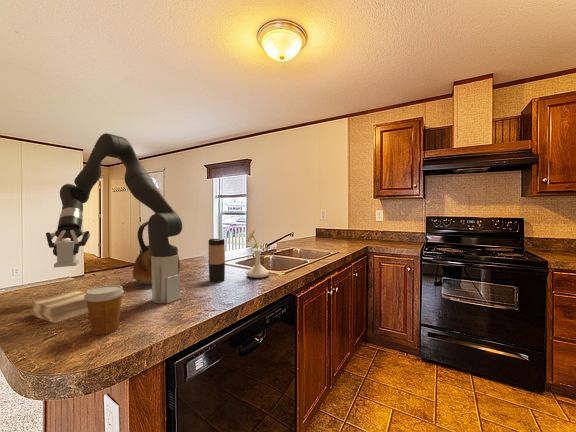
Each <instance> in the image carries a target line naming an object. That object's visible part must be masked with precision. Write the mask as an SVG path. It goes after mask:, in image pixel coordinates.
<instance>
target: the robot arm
mask: <svg viewBox="0 0 576 432" xmlns="http://www.w3.org/2000/svg"><path fill="white" fill-rule="evenodd" d="M106 157H108V158H113V159H117V160H120V161H121V163H122V164H123V165H124V167H125V172H124V183H125V186H126V187H127V189H128V190H129V191H130V194H131V195H132V196H133V197H134V198H135V199H136V200H138V201H139V202H140V203H142V204H143V205H145V206H146V207H147V208H148V209H150V210H151V211H152V212H153V214H151V216H150V217H149V218H148V220H147V221H148V225H147V234H148V235H147V237H148V245H149V248H150V250H151V263H152V264H151V265H152V284H151V301H152V303H155V304H170V303H172V302H175V301H177V300H180V299H181V274H180V273H179V274H178V256H179V255H178V254H179V249H178V246H176V245H172V244H170V240H169V237H171V238H172V237H176V236H178V235H180V234H181V233H182V231H183V222H182V219H181V217H180V215H178V213H177V212H176V210H174V209H173V207H172V206H171V205H170V204H169V203H168V201H167V200H166V198H164V196H163V194H162V193H161V192H160V190H159V188H158V186H157V185H156V184H155V183H154V181H153V179H152V177H151V176H150V175H149V173H148V172H147V170H146V169H145V167H144V166H143V164H142V163H141V161H140V160H139V157H138V156H137V154H136V151H135V149H134V148H133V145H132V144H131V143H130V141H129V140H128V139H127V138H125V137H123V136H120V135H115V134H113V133H103V134H101V135H100V136H99V137H98V139H97V140H96V142H95V144H94V146H93V149H92V150H91V153H90V154H89V157H88V159H87V161H86V163H85V165H84V166H83V168H82V169H81V170H80V171H79V173H78V174H77V176H76V177H75V178H74V184H71V183H65V184H64V185H62V186H61V188H60V190H59V198H60V201H61V205H62V208H61V212H60V213H59V214H60V215H59V219H58V223H57V228H56V231H54V232H52V233H50V232H46V233H45V235H46V240H47V245H48V247H49V248H50V249H52V254H53V256H55V257H57V242H61V241H62V239H63V238H70V240H71V241H74V242H75V244H74V249H73V254H74V255H76V256H77V254H78V253H79V251H80V247H85V246H86V245H87V242H88V240H89V239H90V236H91V235H90V231H89V230H86V231H82V227H83V226H82V225H83V216H84V215H83V212H84V204H86V203H88V200H89V198H90V195H91V192H92V189H93V188H94V186H95V185H96V183H98V181H99V180H100V179H101V177H102V161H103V160H104V159H105V158H106ZM81 236H82V238H81V240H80V241H79V239H78V238H80V237H81ZM55 237H56V240H55V242H53V239H54V238H55ZM168 240H169V241H168Z"/></svg>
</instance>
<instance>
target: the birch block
mask: <svg viewBox="0 0 576 432" xmlns="http://www.w3.org/2000/svg"><path fill="white" fill-rule="evenodd" d="M85 295H86V292H85V291H79V290H76V291H72V292H67V293H63V294H59V295H55V296H51V297H46V298H43V299H38V300H35V301H32V317H35V318H39V319H42V320H45V321H48V322H51V323H54V324H55V323H58V322H62V321H65V320H68V319H71V318H74V317H77V316H80V315H85V314H87V313H89V312H88V307H87V301H86V300H85V298H84V296H85Z"/></svg>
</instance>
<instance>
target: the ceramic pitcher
mask: <svg viewBox="0 0 576 432" xmlns="http://www.w3.org/2000/svg"><path fill="white" fill-rule="evenodd" d="M148 221H149V220H147V221H146V222H143V223H142V224H141V225H140V226H139V228H138V230H137V240H138V241H137V242H138V244H139V246H140V253H139V255H137V258H136V260H135V261H134V264H133V267H132V278H133V280H135V281H136V282H138V283H140V284H145V285H152V265H151V264H152V263H151V250H150V248H149V244H148V245H146V244H145V241H144V239H143V237H144V236H143V234H144V230H145V229H146V226H147V227H148ZM168 241H169V242H170V240H169V239H168ZM180 271H181V263H180V256H179V255H178V274H179V275H180Z"/></svg>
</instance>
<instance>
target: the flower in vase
mask: <svg viewBox="0 0 576 432" xmlns="http://www.w3.org/2000/svg"><path fill="white" fill-rule="evenodd" d="M255 232H256V228H253V229H252V232H250V233H249V236H248V237H247V238H246V239H247V240H246V242H247V243H249V242H250V241H251V240H252V238H253V240H254V242H255V244H254V245H253V246H252V251H253V253H254V255H255V257H254V258H255V263H254V265H253V266H252V267H251V268H249V269H248V271H247V272H246V276H247V277H250V278H255V279H257V278H258V279H259V278H265V277H268V276H269V274H270V272H269V271H268V269H266V268H265V267H264V266H263V265H262V263H261V254H262V252H263V249H259V248H260V247H261V244H260V242H259V241H258V242H257V241H256V238H255V236H254V235H255Z"/></svg>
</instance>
